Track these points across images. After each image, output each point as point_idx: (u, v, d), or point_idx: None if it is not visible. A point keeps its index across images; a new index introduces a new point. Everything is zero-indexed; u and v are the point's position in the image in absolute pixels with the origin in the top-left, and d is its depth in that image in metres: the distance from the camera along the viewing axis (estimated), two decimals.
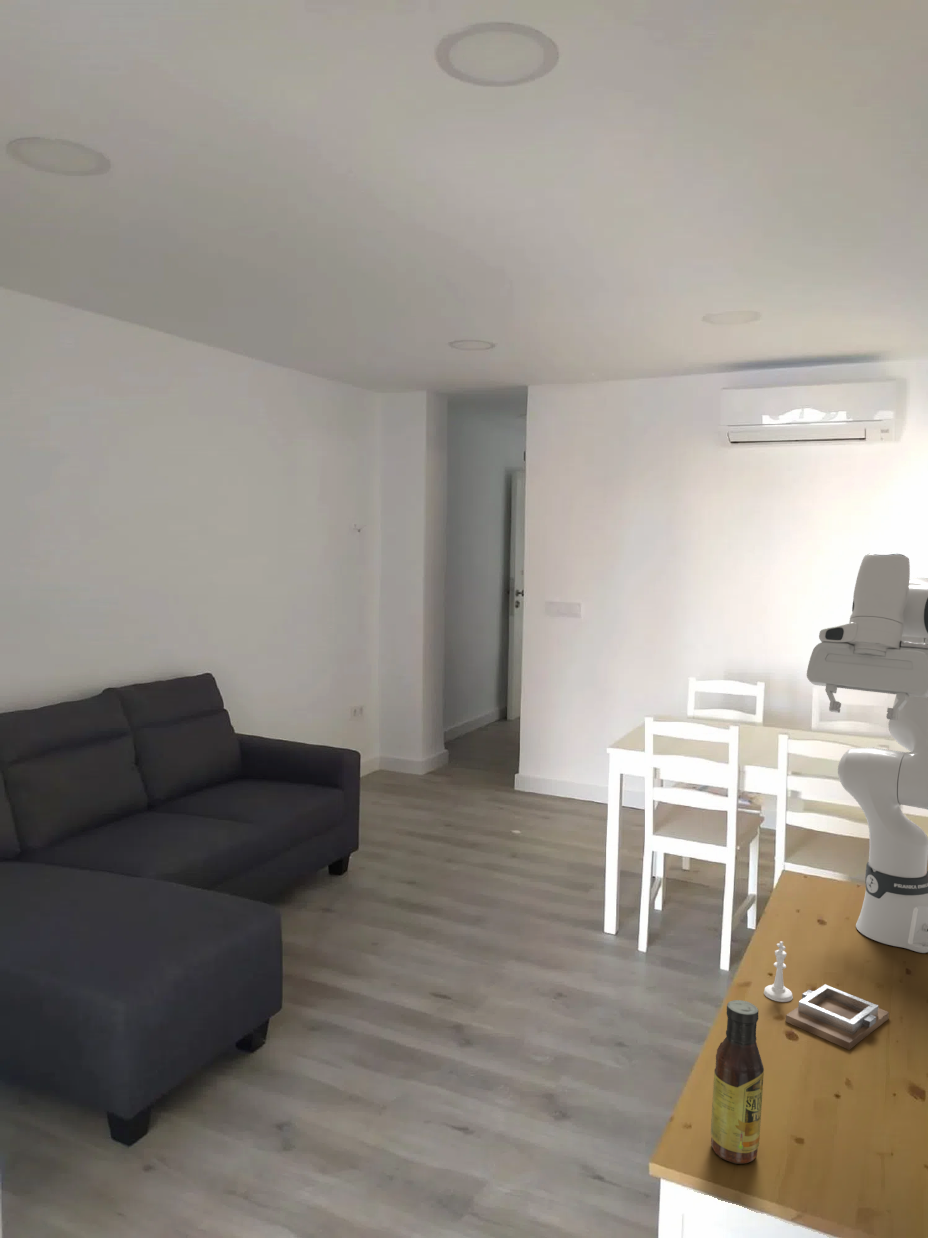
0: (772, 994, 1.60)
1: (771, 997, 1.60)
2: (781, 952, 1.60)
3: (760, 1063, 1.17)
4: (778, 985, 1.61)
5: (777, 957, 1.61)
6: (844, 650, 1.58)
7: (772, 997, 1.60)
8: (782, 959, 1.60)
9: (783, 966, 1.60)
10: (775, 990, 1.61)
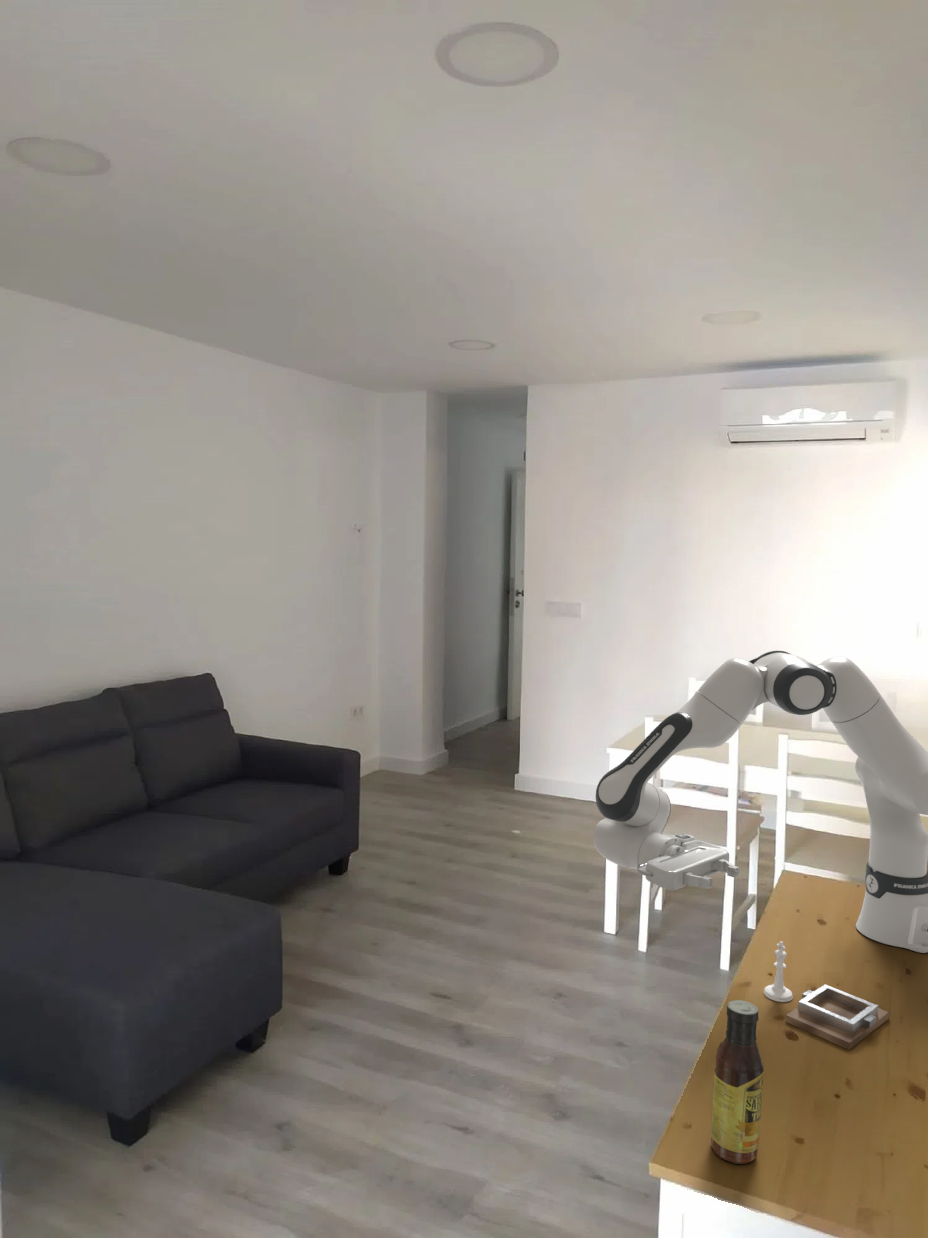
0: (772, 994, 1.60)
1: (771, 997, 1.60)
2: (781, 952, 1.60)
3: (760, 1063, 1.17)
4: (778, 985, 1.61)
5: (777, 957, 1.61)
6: None
7: (772, 997, 1.60)
8: (782, 959, 1.60)
9: (783, 966, 1.60)
10: (775, 990, 1.61)
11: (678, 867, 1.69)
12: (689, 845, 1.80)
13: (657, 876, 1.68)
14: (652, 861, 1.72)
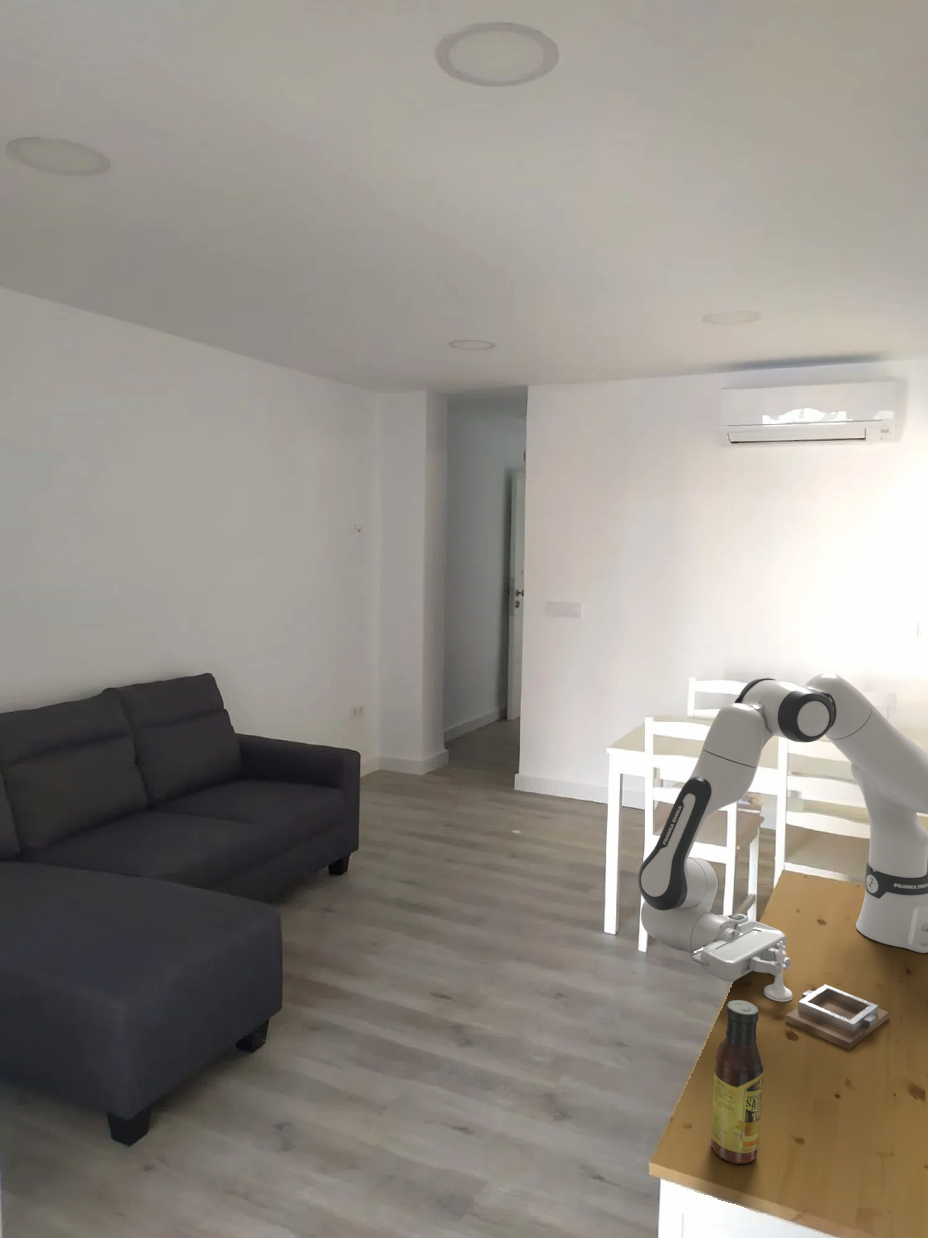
0: (772, 994, 1.60)
1: (771, 997, 1.60)
2: (781, 952, 1.60)
3: (760, 1063, 1.17)
4: (778, 985, 1.61)
5: (777, 957, 1.61)
6: None
7: (772, 997, 1.60)
8: (782, 959, 1.60)
9: (783, 966, 1.60)
10: (775, 990, 1.61)
11: (736, 956, 1.60)
12: (743, 927, 1.71)
13: (714, 966, 1.60)
14: (707, 948, 1.63)
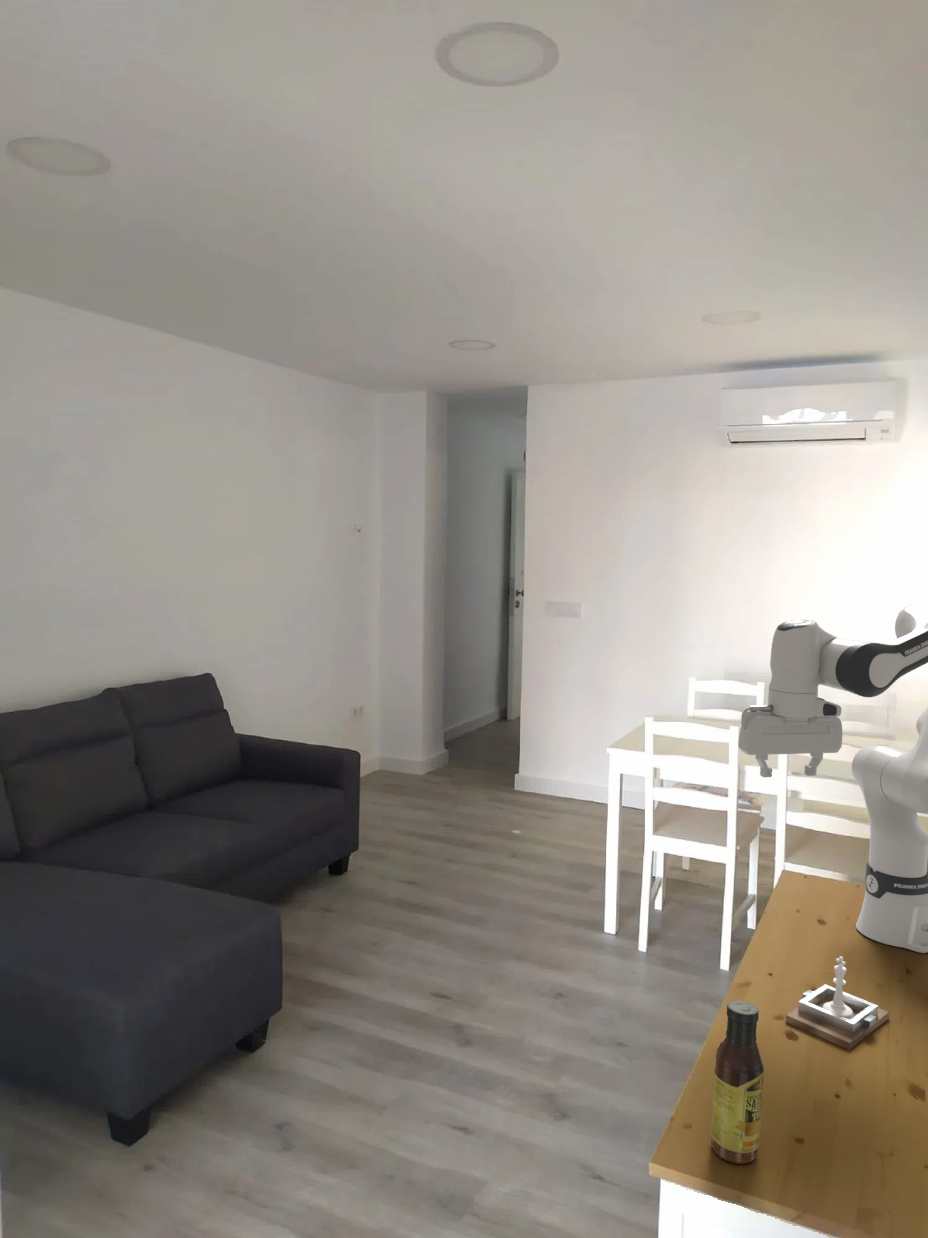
0: None
1: None
2: (841, 968, 1.52)
3: (760, 1063, 1.17)
4: (838, 1002, 1.53)
5: (837, 973, 1.52)
6: None
7: None
8: (842, 975, 1.52)
9: (843, 982, 1.52)
10: (834, 1008, 1.53)
11: (764, 748, 1.68)
12: (819, 722, 1.69)
13: (744, 735, 1.69)
14: (759, 722, 1.67)
